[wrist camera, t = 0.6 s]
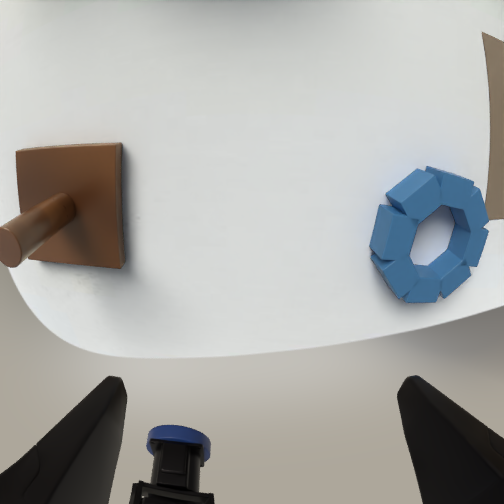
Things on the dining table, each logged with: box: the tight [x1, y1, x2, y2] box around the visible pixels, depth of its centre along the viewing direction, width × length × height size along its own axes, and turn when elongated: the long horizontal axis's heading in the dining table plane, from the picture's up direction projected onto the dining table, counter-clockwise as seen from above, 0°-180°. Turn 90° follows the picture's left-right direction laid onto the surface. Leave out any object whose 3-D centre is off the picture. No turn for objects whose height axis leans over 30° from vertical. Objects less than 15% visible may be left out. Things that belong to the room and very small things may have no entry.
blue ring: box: [370, 166, 489, 303], centre depth 21 cm, size 11×11×2 cm
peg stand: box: [0, 143, 125, 269], centre depth 16 cm, size 9×9×8 cm
